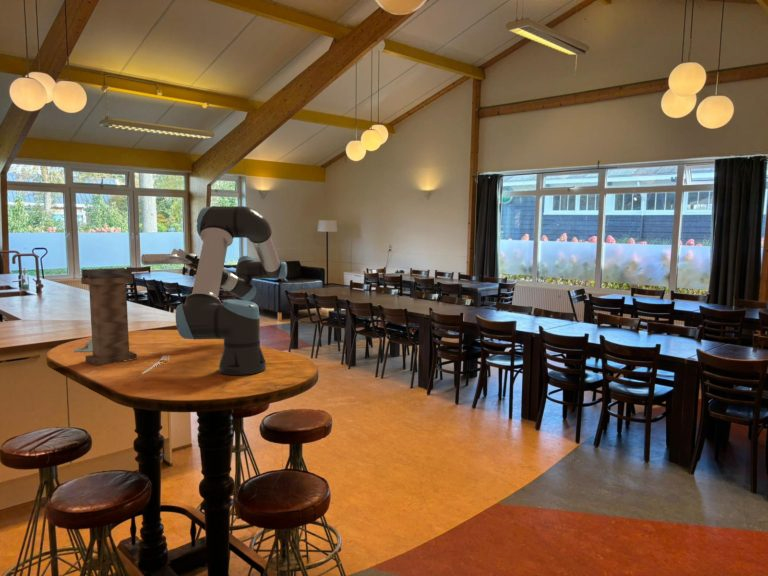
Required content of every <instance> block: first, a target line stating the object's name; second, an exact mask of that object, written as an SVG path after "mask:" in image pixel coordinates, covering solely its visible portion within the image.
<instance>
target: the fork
mask: <svg viewBox="0 0 768 576" xmlns="http://www.w3.org/2000/svg"><path fill="white" fill-rule="evenodd" d="M160 360H168V361H169V360H170V356H168V355H163V356H161V358H160ZM160 360H159V361H160ZM159 361H157V362H155V364H153V365H151V366H150V367H148V368H147V369H146V370H144V371H142V372H141V375H144V374H145V373H147V372H149V371H151V370H153V369H154V368H153V367H155V366H156V367H157V365H158V364H159V365H161V364H160V363H163V362H159ZM159 365H158V366H159ZM156 367H155V368H156ZM152 368H153V369H152ZM150 369H151V370H150Z"/></svg>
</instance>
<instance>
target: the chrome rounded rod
mask: <svg viewBox="0 0 768 576" xmlns="http://www.w3.org/2000/svg"><path fill="white" fill-rule="evenodd" d="M187 253H188V254H190V255H192V256H194V258H195V256H197V254H196V253H194V252H193V253H192V252H191V253H189V252H187ZM140 259H141V264H142V265H143V266H153V265H154V266H155V265H156V266H157V265H158V266H159V265H178V264H179V265H180V264H182V265H184V264H185V265H186V264H189V263H190V262H188V261H186V260H184V259H182V258H181V257H179V256H177V255H176V254H171V253H147V254H145V253H142V254H141V258H140ZM191 263H192V262H191Z"/></svg>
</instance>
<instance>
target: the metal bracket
mask: <svg viewBox="0 0 768 576" xmlns="http://www.w3.org/2000/svg"><path fill="white" fill-rule="evenodd" d="M73 353H93V348H92V338H91V339H90V340H89V341H87V342H86V344H85V346H83V347H77V348H76V349H75V350H73Z"/></svg>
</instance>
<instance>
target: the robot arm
mask: <svg viewBox="0 0 768 576" xmlns="http://www.w3.org/2000/svg"><path fill="white" fill-rule="evenodd" d="M268 221H269V220H267V218H265V217H264V216H263V215H262V214H261V213H260V212H259V211H257V210H255V209H253V208H251V207H248V206H243V205H242V206H241V205H240V206H239V205H238V206H235V205H234V206H231V205H230V206H221V205H220V206H217V205H211V206H205V207H203V208H201V209H200V210H199V213H198V215H197V218H196V223H197V224H196V232H197V234H198V236H199V237H200V240H201V241H202V246H201V249H200V250H201V251H200V255H199V256H198V255H196V256H195V258H194V256H192V255H190V254H188V253H189V252H187V251H185V250H183V249H181V248H178V249H177V248H173V249H172V252H171V253H170V254H176V255H177V256H179V257H181V258H182V259H184V260H186V261H188V262H190V263H189V264H183V265H184V266H186V265H187V266H188V267H190V268H192V269H194V270H195V271H196V274H195V278H194V283H193V288H192V290H191V291H192V292H191V293H190V294H188V295H187V296H186V297H185V301H184V303H180V304H178V305H177V306H176V308H175V325H176V329H177V332H178V334H179V336H180V337H181V339H182V338H183V339H184V340H194V341H196V340H223V351H222V355H221V357H220V360H219V365H218V369H219V371H218V372H219V373H220V374H223V375H227V376H247V375H254V374H258V373H261V372H263V371H265V370H266V369H267V365H266V364H267V363H266V359H265V357H264V353H263V351H262V348H261V328H260V325H261V324H260V319H261V316H260V308H259V306H258V304H257V303H255V302H253V301H251V300H253V299H254V298H255V296H256V295H257V287H256V286H255V285H254V284H252V283H253V279H272V280H273V279H277V280H279V279H286V277H287V275H288V264H287V262H286V261H282V260H280V259H279V256H278V253H277V250H276V247H275V244H274V241H273V239H272V232H273V231H272V228H271V225H270V223H269V222H268ZM235 238H237V239H240V238H245V239H248V241H250V242H251V243H252V244H253V247H254V248H255V252H256V254H257V256H258V258H259V259H258V260H260V261H256V260H255V259H254V257H252V256H248V255H242V256H240V257H239V258H238V260H237V264H236V267H235V272H234V273H235V274H234V273H233V272H231V271H229V270H227V269H225V268H224V267H225V263H226V257H227V251H228V247H229V246H232V244H233V241H234V239H235ZM191 262H192V263H191ZM220 288H222V289H223V292H226V291H227V292H228V293H230V294H231V295H234V297H237V298H239V299H230V298H229V299H224V300H223V301H222V302H221V300H220V298H219V294H220Z"/></svg>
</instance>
